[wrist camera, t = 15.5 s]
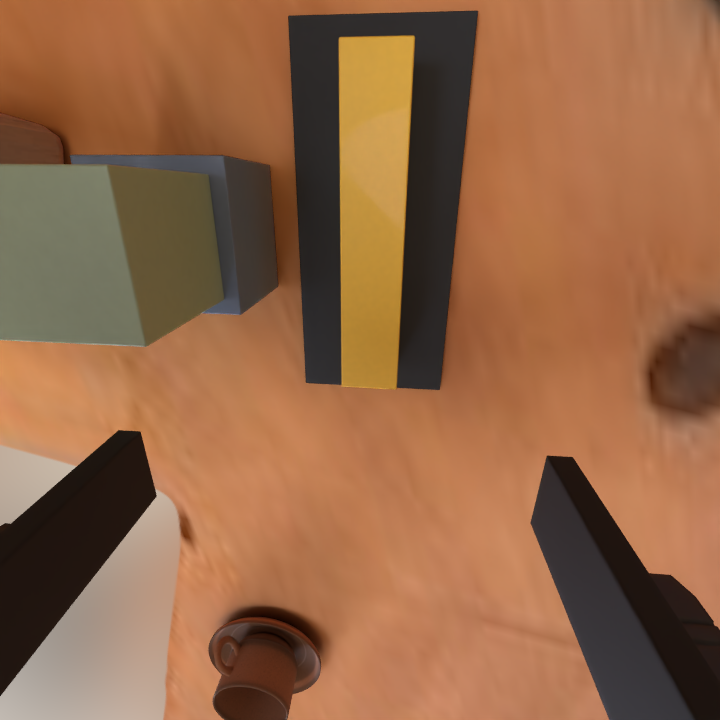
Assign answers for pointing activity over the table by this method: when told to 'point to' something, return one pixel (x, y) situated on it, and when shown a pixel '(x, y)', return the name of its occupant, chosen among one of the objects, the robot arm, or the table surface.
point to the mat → (424, 187)
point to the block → (28, 143)
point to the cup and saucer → (261, 668)
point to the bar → (373, 202)
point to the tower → (131, 245)
